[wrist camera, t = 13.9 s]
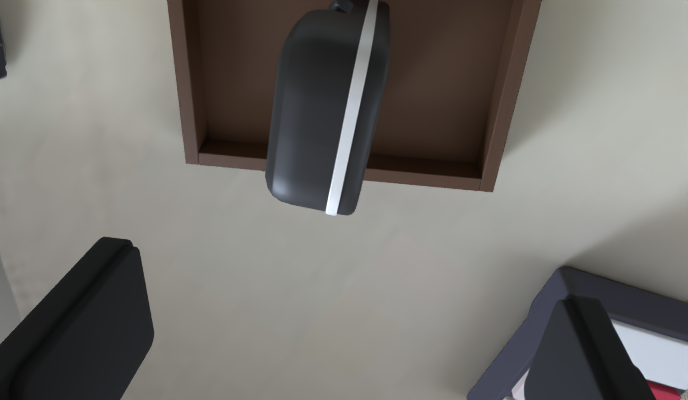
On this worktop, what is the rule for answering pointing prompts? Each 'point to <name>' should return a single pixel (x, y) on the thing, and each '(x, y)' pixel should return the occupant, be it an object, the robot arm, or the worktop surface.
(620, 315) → the calculator
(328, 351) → the worktop surface
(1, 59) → the disk drive
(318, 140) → the battery charger
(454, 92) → the tray
